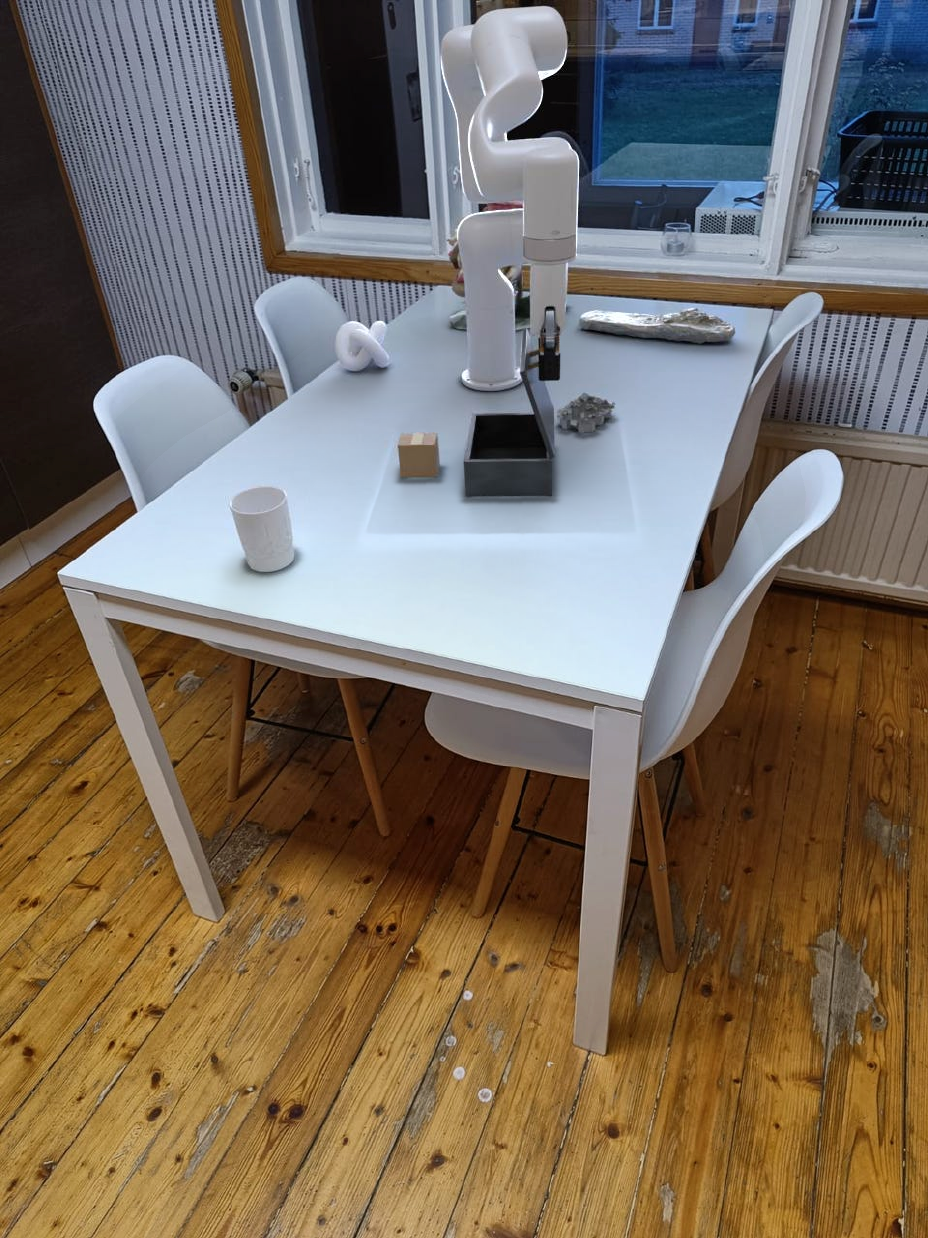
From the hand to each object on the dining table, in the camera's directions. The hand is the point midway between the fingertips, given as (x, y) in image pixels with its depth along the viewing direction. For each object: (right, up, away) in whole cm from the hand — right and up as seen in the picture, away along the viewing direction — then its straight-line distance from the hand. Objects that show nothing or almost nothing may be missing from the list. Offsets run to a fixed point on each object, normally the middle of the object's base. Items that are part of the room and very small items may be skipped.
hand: (548, 370), depth 131 cm
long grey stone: (+30, +26, +61) cm, 72 cm away
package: (-20, -14, +12) cm, 28 cm away
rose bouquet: (-4, +35, +76) cm, 84 cm away
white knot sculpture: (-34, +17, +55) cm, 66 cm away
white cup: (-41, -30, -6) cm, 51 cm away
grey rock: (+9, -3, +25) cm, 27 cm away
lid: (-2, -3, +2) cm, 4 cm away
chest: (-5, -14, +11) cm, 19 cm away
